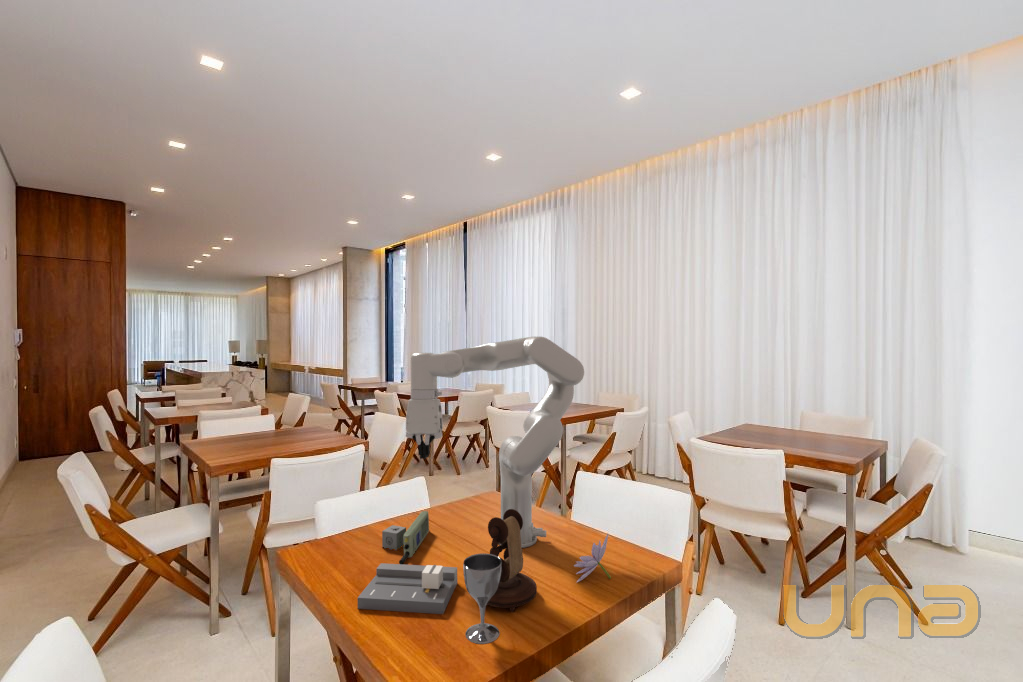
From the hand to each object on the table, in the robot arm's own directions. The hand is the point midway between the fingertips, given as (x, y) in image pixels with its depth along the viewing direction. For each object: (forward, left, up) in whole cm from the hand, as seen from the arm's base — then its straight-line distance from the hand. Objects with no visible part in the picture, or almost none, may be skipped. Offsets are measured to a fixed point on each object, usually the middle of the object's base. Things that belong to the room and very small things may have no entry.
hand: (424, 457), depth 142 cm
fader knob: (-10, +25, -24) cm, 36 cm away
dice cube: (+10, -2, -27) cm, 29 cm away
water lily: (-48, +9, -27) cm, 56 cm away
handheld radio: (+4, -2, -28) cm, 28 cm away
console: (-4, +25, -27) cm, 37 cm away
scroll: (-27, +23, -27) cm, 45 cm away
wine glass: (-24, +38, -27) cm, 52 cm away
